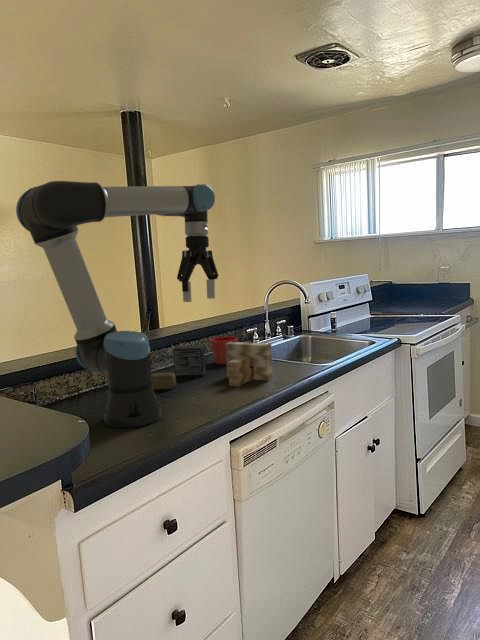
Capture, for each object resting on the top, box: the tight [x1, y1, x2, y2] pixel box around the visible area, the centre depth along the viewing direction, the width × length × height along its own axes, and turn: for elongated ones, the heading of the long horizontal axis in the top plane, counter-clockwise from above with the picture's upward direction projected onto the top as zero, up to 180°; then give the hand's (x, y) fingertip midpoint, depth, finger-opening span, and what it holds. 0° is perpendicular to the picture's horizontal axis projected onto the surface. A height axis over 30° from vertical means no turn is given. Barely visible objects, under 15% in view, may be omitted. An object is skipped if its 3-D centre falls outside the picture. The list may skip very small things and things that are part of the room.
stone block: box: [151, 372, 177, 391], centre depth 162 cm, size 6×12×5 cm, turn 85°
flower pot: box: [209, 336, 239, 365], centre depth 194 cm, size 11×11×10 cm
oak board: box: [228, 357, 254, 387], centre depth 168 cm, size 22×4×8 cm, turn 150°
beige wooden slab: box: [226, 341, 274, 382], centre depth 168 cm, size 16×4×12 cm, turn 60°
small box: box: [172, 344, 207, 378], centre depth 177 cm, size 11×6×10 cm, turn 84°
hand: (199, 300), depth 162 cm, fingers open, 13 cm apart
